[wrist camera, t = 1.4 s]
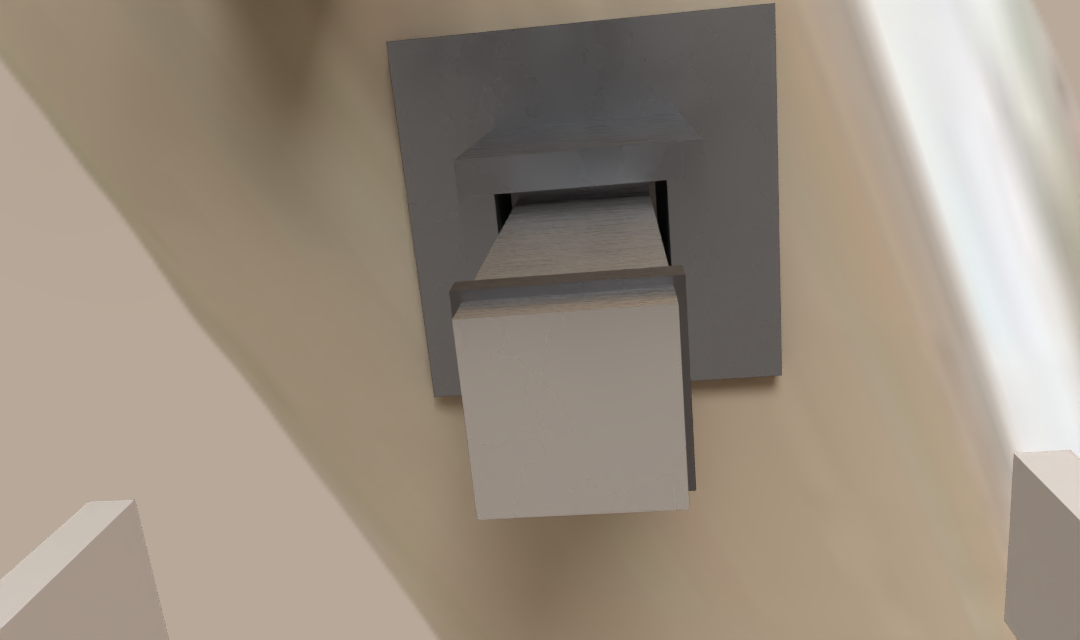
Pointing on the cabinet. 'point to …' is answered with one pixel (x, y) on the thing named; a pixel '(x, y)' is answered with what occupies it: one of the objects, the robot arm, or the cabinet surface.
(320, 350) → the cabinet surface
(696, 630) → the cabinet surface
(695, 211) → the stand base
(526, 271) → the column
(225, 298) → the cabinet surface
